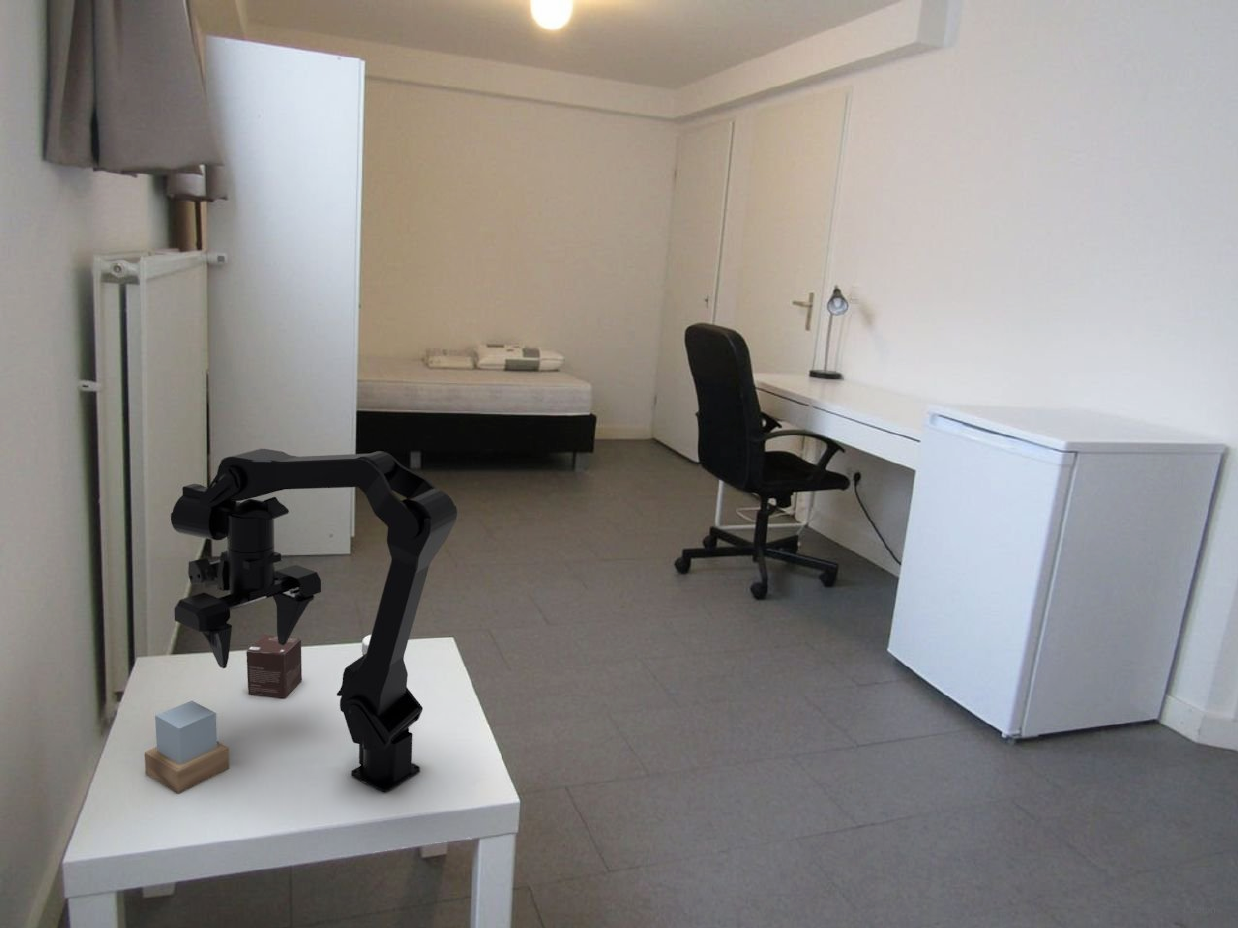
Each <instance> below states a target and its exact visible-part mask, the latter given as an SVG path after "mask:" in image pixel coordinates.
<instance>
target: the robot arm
mask: <svg viewBox="0 0 1238 928" xmlns="http://www.w3.org/2000/svg"><path fill="white" fill-rule="evenodd" d="M341 488H344V489H345V488H358V489H359V490H361V491H362V493H364V495H365V496H366V498H367V501H368V504H369V506H370V507H371V509H372V512H373V513H374V515H375V516H376V517H377V518H378V519H379V520H380V521H381V522H382V523H383V524H384V525H386V526H387V528H386V545H387V548H388V550H389V555H390V564H389V566H388V571H387V575H386V578H385V582H384V586H383V589H382V594H381V596H380V597H381V598H380V600H379V601H380V602H379V604H378V609H377V612H376V616H375V620H374V623H373V627H372V630H371V634H370V635H371V638H370V642H369V645H368V649H367V653H366V654H365V655H362V656H361V657H359V658H357V659H356V660H354V661H353V662H352V663H350V664H349V665H348V666H346V667H345V668H344V671H343V673H342V682H341V687H340V689H339V691H338V692H336V696H337V697H340V699H339V709H340V712H341V713H343V716H344V719H345V721H346V725H347V729H348V731H349V734H350V738H351V741H352V743H354V744H357V745H358V764H359V766H357V767H355V768H354V769H352V770H351V771H350V775H351V777H353V778H355V779H357V780H359V781H361V782H363V783H365V784H367V785H369V786H371V787H373V788H375V789H377V790H379V791H381V792H383V793H388V792H390V790H392V789H394V788H395V787H397V786H399V785H400V784H402V783H403V782H405V781H407V780H408V779H410V778H411V777H413V776H414V775H416V774H417V773H419V772H420V770H421V767H420V766H419V765H417V764H416V763H413V733H412V732H410V727H411V726H412V725H413V724H414V723H416V722H417V721H419V720H420V717H421V715H422V713H423V709H424V707H423V706H422V705H421V703H420V702H419V701H418V700H417V698H416V697H415V696H414V695H413V693H412V692H411V691H410V689H409V688H408V687H407V686H408V675H409V674H408V670H407V667H406V663H405V661H404V660H405V653H406V651H407V647H408V643H409V639H410V636H411V632H412V629H413V626H414V625H413V624H414V621H415V618H416V615H417V611H418V607H419V603H420V601H421V598H422V594H423V590H424V586H425V582H426V579H427V575H428V572H429V568H430V565H431V563H432V561H433V560H434V558H435V556H437V554H438V552H439V551H440V550H441V548H442V547H443V545H444V544H445V542H446V541H447V539H448V538H449V535H450V533H451V531H452V529H453V527H454V525H455V523H456V521H457V515H458V510H457V506H456V505H455V504H454V501H453V500H452V498H451V497H450V496H449V495H448V493H446V492H445V491H443V490H442V489H438V488H437V487H436V486H435V485H434V484H433V483H431V481H429V480H428V479H427V477H424V476H422V475H420V474H419V473H417V472H415V471H413V470H411V469H410V468H408V467H406V466H404V465H403V464H401V463H400V462H399V460H397V459H396V458H395V457H394V456H392V455H391V454H390V453H388V452H385V451H380V450H378V451H375V452H371V453H353V454H331V455H306V456H304V455H303V456H296V455H290V454H288V453H286V452H284V451H280V450H275V449H274V450H273V449H267V448H258V449H254V450H250V451H247V452H242V453H240V454H235V455H232V456H228V457H227V456H226V457H224V458H223V459H221V460H220V463H219V465H218V467H217V473H216V475H215V476H214V478H213V479H212V481H211V483H210V484H209V485H208V487H206V486H205V485H203V484H198V483H191V484H188V485H185V486H182V489H181V490H182V495H181V496H180V497H179V498H178V499H177V500H176V502H175V504H174V506H173V510H172V512H171V513H170V521H171V525H172V528H173V529H174V530H175V531H176V532H177V533H179V534H181V535H188V536H192V537H198V538H203V539H207V540H212V541H222V540H223V539H225V538H227V539H226V540H227V542H226V543H227V549H226V550H225V551H221V554H219V555H220V556H219V560H215V561H211V562H210V561H209V559H208V558H207V557H204V558H198V559H193V560H190V561H188V567H187V569H188V570H187V571H188V572H187V573H188V578H189V582H190V583H191V584H192V585H202V584H203V585H202V586H203V588H204V589H207V588H209V587H213V586H217V590H218V591H221V592H226V591H227V592H228V594H227V595H225V596H221V597H217V596H214V595H212V594H209V593H206V592H201V593H198V594H194V595H190V596H188V597H185V598H181V599H179V600H178V601H177V602H176V603H175V606H174V621H175V622H177V623H179V624H181V625H184V626H186V627H188V628H190V629H193V630H195V631H198V632H200V633H201V634H202V635H203V637H204V638H205V641H206V642H207V643H208V645H209V648H210V650H211V652H212V654H213V657H214V659H215V660H216V662H217V666H218V667H220V668H222V669H226V668H227V666H228V662H229V659H230V648H231V640H232V639H231V638H232V630H233V624H230V623H228V622H229V620H230V619H231V611H232V610H235V609H238V608H241V607H245V606H247V605H250V604H252V603H253V604H254V603H257V602H259V601H262V600H265V599H266V600H267V599H268V598H271V597H272V599H273V601H274V602H275V605H276V636H278V643H279V644H281V645H285V644H286V643H287V641H288V639H289V637H290V638H291V636H292V635H291V634H292V633H293V631H294V629H295V628H296V625H297V623H298V622H299V620H300V618H301V617H302V615H303V613H304V611H306V608H307V607H308V605H309V604H310V602H311V601H314V600H315V595H318V594H321V593H322V591H323V588H322V584H323V583H322V577H321V576H320V574H319V573H318V572H317V571H314V570H312V569H308V568H305V567H303V566H300V565H297V564H295V565H291V566H287V567H284V568H281V569H278V570H276V565H275V564H276V563H277V562H281V561H282V553H280V552H278V551H276V550H275V519H278V518H281V517H284V516H285V515H288V514H289V513H290V510H289V509H288V508H287V506H286V505H284V504H282V502H280V501H279V500H278V498H277V497H276V496H272V497H270V498H267V499H264V500H259V499H253V498H258V497H261V496H264V495H268V494H273V493H276V492H281V491H284V490H307V489H309V490H311V489H341ZM394 492H395V493H394ZM396 493H397V494H398V495H400V496H402V497H404V498H405V499H403V500H401V499H400V498H399V497H398V496H397V495H396ZM240 501H241V502H240Z"/></svg>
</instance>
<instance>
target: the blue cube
mask: <svg viewBox="0 0 1238 928" xmlns="http://www.w3.org/2000/svg"><path fill="white" fill-rule="evenodd" d="M154 718H155V719H154V720H155V739H156V747H157V751H158V752H159V753H161V754H163V755H164V756H166V757H168V758H170V759H171V760H173V761H175V762H177V763H178V764H180V765H181V764H184V763H186V762H188V761H190V760H192V759H194V758H196V757H199V756H201V755H203V754H205V753H207V752H209V751H211V750H213V749H216V748H217V742H218V741H217V740H218V737H217V713H216V712H215V711H214V710H211V709H210V708H208V707H206V706H204V705H202V704H200V703H198V702H196V701H194V700H190V701H188V702H187V701H186V702H185V703H183V704H182V703H181V704H179V705H178V706H175V707H173V708H170V709H167V710H166V711H163V712H161V713H157V714H155V715H154Z"/></svg>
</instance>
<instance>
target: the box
mask: <svg viewBox="0 0 1238 928" xmlns="http://www.w3.org/2000/svg"><path fill="white" fill-rule="evenodd" d="M245 653H246V654H245V655H246V671H247V672H246V673H247V677H246V678H247V691H248V695H256V696H257V695H258V696H267V697H268V696H269V697H277V698H287V697H288V696H289V694H291V692H293V690H294V689H295V688H296V687H297V686H298V685H299V684H300V683H301V681H302V680H303V678H302V677H303V676H302V670H303V669H302V638H300V637H299V638H298V637H291V636H290V637H289V639H288V641H287V643H286V644H285V645H281V644H279V643H278V636H277V635H271V634H265V635H263V636H262V637H261V638H259V640H257V641H256V642H255V643H254V644H253V645H251V646H250V647H249V648H248V649H247V650H246V651H245Z"/></svg>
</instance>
